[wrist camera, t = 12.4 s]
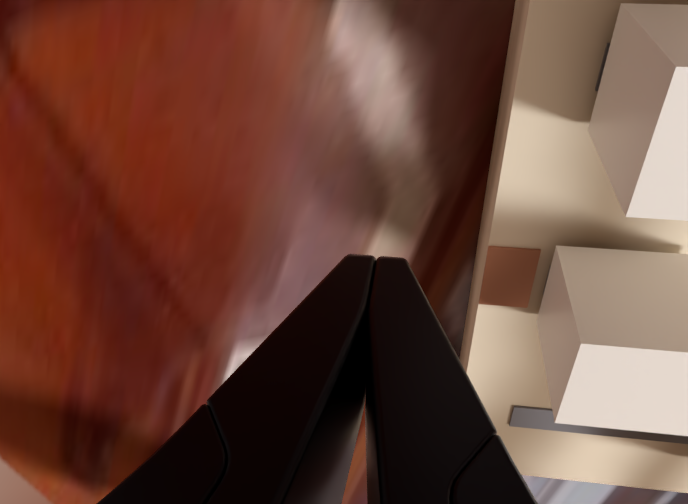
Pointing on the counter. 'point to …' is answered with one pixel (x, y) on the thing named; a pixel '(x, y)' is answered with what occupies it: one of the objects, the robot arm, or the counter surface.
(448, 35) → the counter surface
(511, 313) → the switch board
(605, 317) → the switch
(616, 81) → the switch
